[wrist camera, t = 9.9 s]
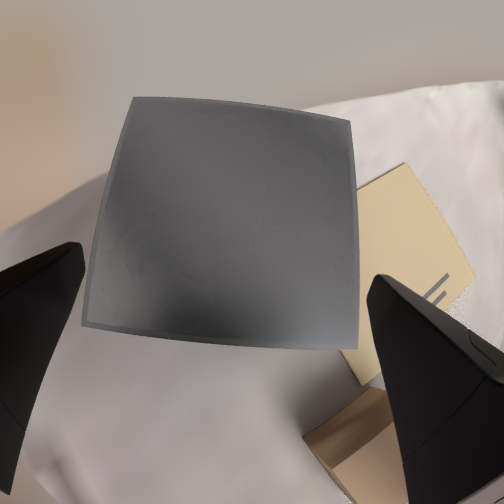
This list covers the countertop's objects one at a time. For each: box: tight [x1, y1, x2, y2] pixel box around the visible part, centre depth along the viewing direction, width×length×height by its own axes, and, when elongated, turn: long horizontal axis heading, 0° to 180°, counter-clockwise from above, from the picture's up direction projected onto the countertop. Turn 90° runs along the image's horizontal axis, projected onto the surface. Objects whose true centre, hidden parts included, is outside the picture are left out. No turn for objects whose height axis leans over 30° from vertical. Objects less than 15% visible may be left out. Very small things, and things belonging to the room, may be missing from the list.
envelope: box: [340, 162, 476, 386], centre depth 19 cm, size 12×10×1 cm
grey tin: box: [81, 97, 360, 350], centre depth 11 cm, size 5×5×12 cm
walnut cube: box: [302, 387, 408, 504], centre depth 13 cm, size 5×5×5 cm
